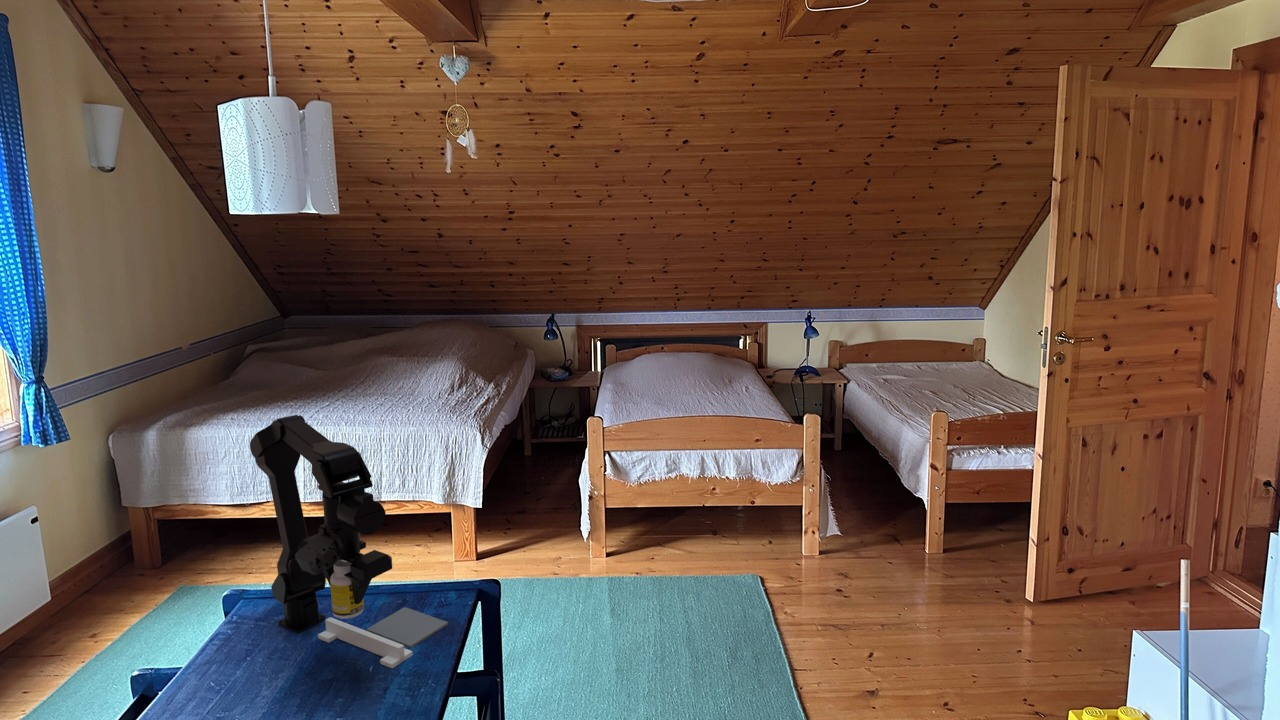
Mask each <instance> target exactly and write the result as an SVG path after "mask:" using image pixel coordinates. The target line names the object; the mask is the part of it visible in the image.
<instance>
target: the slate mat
mask: <svg viewBox="0 0 1280 720" xmlns="http://www.w3.org/2000/svg"><path fill="white" fill-rule="evenodd" d="M447 626H449V622H448V621H445V620H442V619H440V618H437V617H434V616H431V615H429V614H426V613H423V612H420V611H417V610H414V609H412V608H408V607H406V606H404V607H402V608H400V609H399V610H397V611H395V612H393V613H392V614H390V615H389V616H387V617H385V618H383V619H381V620H380V621H378V622H376V623H374V624H373V625H371V626H369V627H368V628H366V630H365V631H368V632H370V633H373V634H376V635H378V636H381V637H383V638H386V639H389V640H391V641H394V642H397V643H399V644H402V645H404V647H406V648H409V649H413V648H414V647H416V646H417V645H418V644H420V643H422V642H423V641H425V640H427V639H428V638H430V637H431V636H433V635H434V634H436V633H437V632H439V631H440V630H443V629H444V628H445V627H447Z"/></svg>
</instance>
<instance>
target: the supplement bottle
mask: <svg viewBox="0 0 1280 720" xmlns="http://www.w3.org/2000/svg"><path fill="white" fill-rule="evenodd" d="M351 564H352V563H350V562H347V563H346V562H343V561H340V560H338V561H337V562H336V563H335V564H334V573H333V574H332V575H331V578H330V585H329V587H330V586H331V587H330V598H331V611H332V615H333V617H335V618H337V619H342V620H343V619H347V620H348V619H352V618H355V617H357V616H359V615H361V614H362V612H363V611H364V609H365V605H364V604H365V603H364V599H363V600H362V602H361V603H359V604H355V601H354V596H353V590H352V584H351V580H350V579H349V578H347V577H345V576H344V574H347V573H349V572H351V570H350V565H351Z"/></svg>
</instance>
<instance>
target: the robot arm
mask: <svg viewBox="0 0 1280 720" xmlns="http://www.w3.org/2000/svg"><path fill="white" fill-rule="evenodd" d="M249 450H250V452H251V455H252V456H253V457H254V460H255V464H256V466H257V467H258V468H259V469H260V470H261V471H262V472H263V473H264V474H265V475H266V476H267V478H268V481H269V482H268V483H269V486H270V487H269V488H270V492H271V497H272V501H273V506H274V511H275V516H276V521H277V526H278V531H279V537H280V541H281V546H282V550H281V554H280V555H279V558H278V561H277V563H276V568H277V574H278V575H277V576H276V578H275V579H274V580H273V583H272V585H270V587H271V588H270V589H271V591H272V597H273V598H275V599H276V600H277V601H278V602H279V603H280V604H282V605H283V615H284V618H282V619H280V620H278V621H277V624H278V626H281V627H284V628H285V629H289V630H290V631H293V632H296V633H301V632H303V631H304V630H307V629H308V628H311V627H312V626H315V625H316V624H319V622H322V621H323V620H326V615H325V614H323V613H322V614H321V613H320V611H319V602H318V598H317V597H318V596H317V592H320V591H323V590H325V589H326V585H327V584H326V581H327V583H328V585H329V587H330V588H331V586H330V578H331V575H332V574H333V573H334V564H335V563H336V562H337V561H338V560H340V561H343V562H346V563H347V562H350V563H352V564H351V565H350V570H351V572H349V573H347V574H344V576H345V577H347V578H349V579H350V580H351V584H352V590H353V596H354V601H355V604H359V603H361V602H362V600H363V601H364V598H365V595H366V594H367V590H368V588H369V586H370V584H371V583H372V579H375V578H376V577H378V576H380V575H383V574H384V573H386V572H389V571H391V570H393V558H392V556H391V555H389V554H387V553H385V552H382V551H378V550H376V549H373V550H371V551H369V552H366V553H365V554H364V553H362V552H361V551H362V550H364V549H367V542H366V541H363V540H361V535H363V536H370V535H373V534H375V533H377V532H378V531H379V530H380V529H381V528H382V526H383V525H384V524H385V521H386V516H387V515H386V514H387V513H386V510H385V508H384V506H383V505H382V503H380V502H378V501H376V500H374V495H373V493H371V492H367V491H366V489H370V488H372V487H374V485H373V481H372V480H371V479H372V474H371V472H370V471H369V468H368V467H367V464H366V463H365V461H364V459H363V457H362V455H361V453H360V451H358V450H357V449H356V448H355V447H354V446H352V445H351V444H347V443H345V442H337V441H332V440H330V439H328V438H327V437H325V436H324V435H323V434H322V433H320V432H319V431H317V430H316V429H315V428H314V427H313V426H311V425H310V424H309V423H307V422H306V420H305V417H303V416H302V415H298V414H294V415H293V414H292V415H288V416H284V417H279V418H276V420H273V421H272V422H271V423H270V425H268V426H266V427H264V428H263V429H261V430H259V431H258V432H256V433H255V434H254V436H253V437H251V439H250V443H249ZM301 457H303V458H304V459H305V460H307V461H308V463H310V464H311V474H312V476H313V477H314V479H315V480H316V482H317V484H318V486H317V489H318V490H320V491H321V493H322V507H323V519H324V523H323V524H321V525H319V527H318V530H317V531H318V533H317V534H314V535H311V536H309V535H308V532H307V527H306V526H307V525H306V521H305V517H304V512H303V511H304V510H303V506H302V500H301V497H300V492H299V487H298V482H297V478H296V469H297V466H298V463H299V461H300V460H301ZM356 478H359V479H356ZM353 479H354V480H353ZM349 480H351V481H349ZM346 481H348V482H346Z"/></svg>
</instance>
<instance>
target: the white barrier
mask: <svg viewBox="0 0 1280 720" xmlns="http://www.w3.org/2000/svg"><path fill="white" fill-rule="evenodd" d="M324 623H325V630H324V631H322V632H320V633H318V634H317V639H319V640H321V641H324V642H327V643H329V644H330V643H332V641H334V640H336V639H338V640H340V641H343V642H346V643H348V644H350V645H353V646H356V647H358V648H360V649H362V650H366V651H368V652H370V653H372V654H375V655H378V656H381V657H382V658H381V659H379V663H380V665H383V666H385V667H387V668H389V669H390V668H391V669H394V668H395V667H396V666H399V665H400V664H402V662H403V663H404V661H406V660H407V659H409V658H410V657H413V651H412V650H409V649H407V648H405V646H404V645H402V644H399V643H397V642H394V641H391V640H389V639H386V638H383V637H381V636H378V635H376V634H373V633H370V632H368V631H366V630H365V629H362V628H360V627H357V626H354V625H352V624H349V623H347V622H344V621H341V620H339V619H336V618H333V617H327V618H325V619H324Z"/></svg>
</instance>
